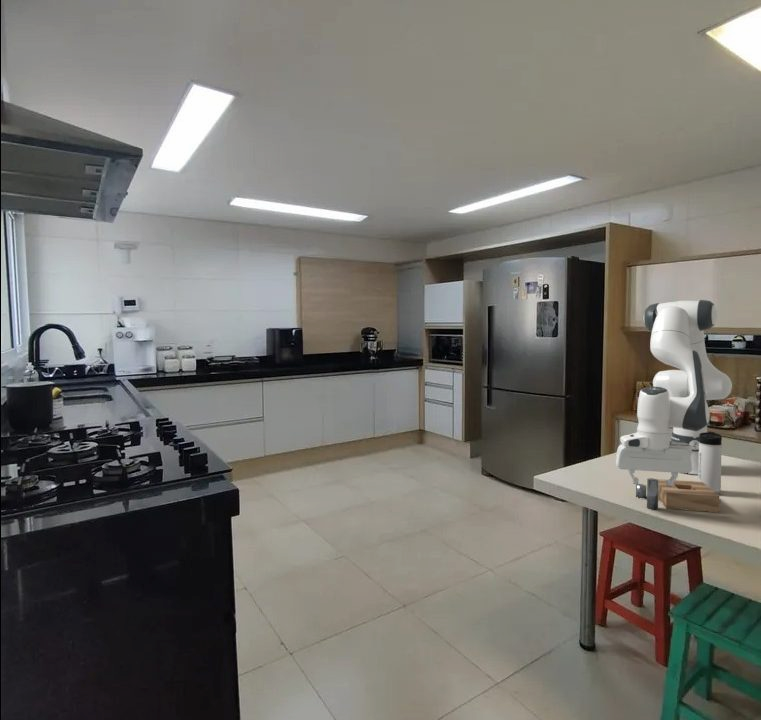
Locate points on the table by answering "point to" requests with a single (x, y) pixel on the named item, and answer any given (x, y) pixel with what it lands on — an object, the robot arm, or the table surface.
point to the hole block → (688, 496)
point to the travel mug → (710, 460)
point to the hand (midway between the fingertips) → (652, 485)
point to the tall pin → (652, 493)
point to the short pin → (640, 491)
